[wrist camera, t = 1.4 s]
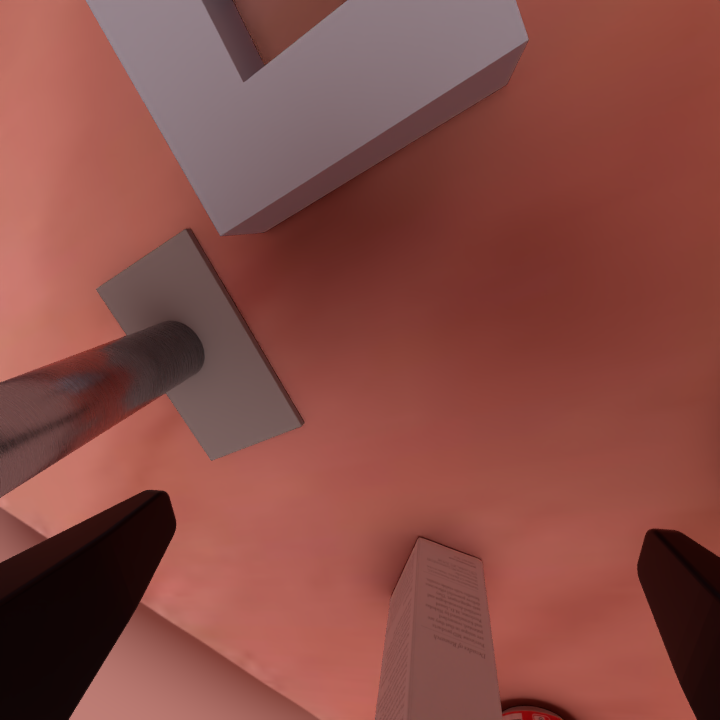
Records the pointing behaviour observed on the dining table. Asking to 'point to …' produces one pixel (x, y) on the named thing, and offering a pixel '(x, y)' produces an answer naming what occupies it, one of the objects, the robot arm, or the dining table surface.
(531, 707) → the soda can
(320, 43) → the block
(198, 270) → the base plate
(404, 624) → the skincare box
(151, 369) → the pin
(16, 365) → the dining table surface
